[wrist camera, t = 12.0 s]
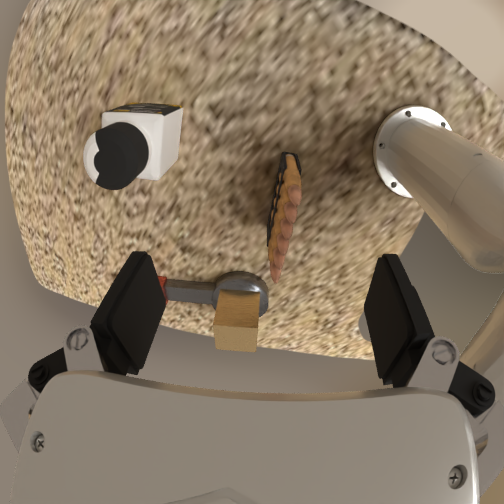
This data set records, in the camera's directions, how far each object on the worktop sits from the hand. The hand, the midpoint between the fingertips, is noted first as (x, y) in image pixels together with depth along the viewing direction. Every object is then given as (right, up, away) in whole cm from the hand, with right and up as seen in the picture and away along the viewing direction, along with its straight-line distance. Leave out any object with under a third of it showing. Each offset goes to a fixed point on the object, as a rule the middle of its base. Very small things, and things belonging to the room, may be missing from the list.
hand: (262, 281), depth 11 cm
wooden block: (-2, -7, +32) cm, 33 cm away
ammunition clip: (+3, +9, +24) cm, 25 cm away
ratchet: (-11, -5, +35) cm, 37 cm away
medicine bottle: (-12, +16, +19) cm, 28 cm away
